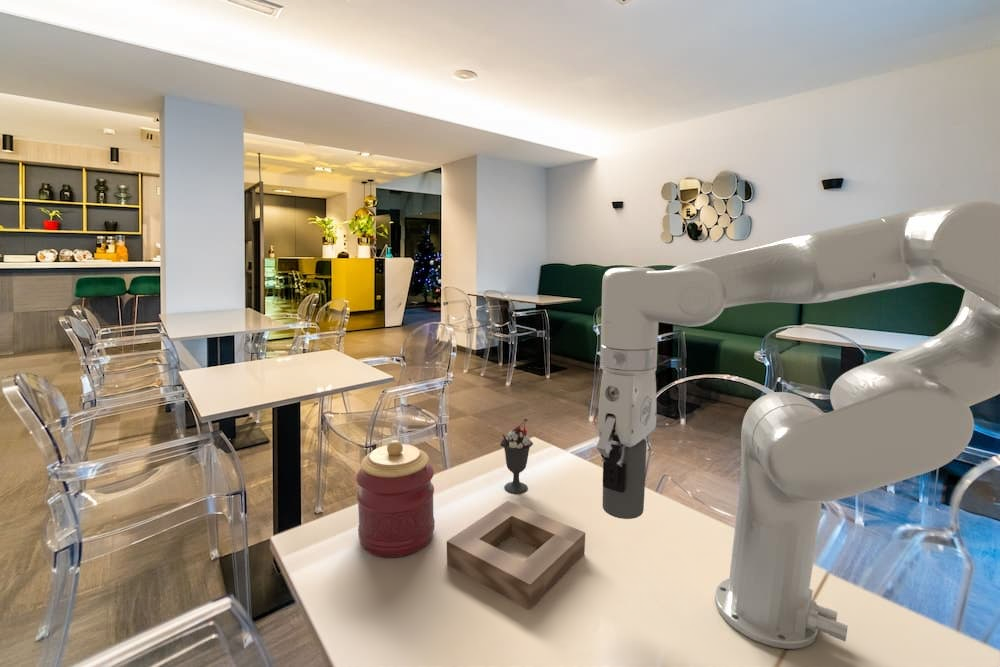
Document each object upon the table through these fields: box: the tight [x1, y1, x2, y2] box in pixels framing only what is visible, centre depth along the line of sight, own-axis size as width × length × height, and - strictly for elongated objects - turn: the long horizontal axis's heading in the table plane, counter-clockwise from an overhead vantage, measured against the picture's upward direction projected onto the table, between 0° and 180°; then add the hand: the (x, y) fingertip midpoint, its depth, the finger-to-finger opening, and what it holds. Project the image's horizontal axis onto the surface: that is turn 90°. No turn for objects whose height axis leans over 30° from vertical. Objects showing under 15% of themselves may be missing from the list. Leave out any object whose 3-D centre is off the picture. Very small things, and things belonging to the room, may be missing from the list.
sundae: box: [500, 418, 534, 495], centre depth 102 cm, size 7×7×15 cm
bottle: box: [602, 436, 647, 520], centre depth 70 cm, size 6×6×15 cm
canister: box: [355, 439, 436, 558], centre depth 84 cm, size 13×13×18 cm
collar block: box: [446, 500, 586, 611], centre depth 79 cm, size 16×16×4 cm
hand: (624, 479), depth 70 cm, fingers closed on bottle, 5 cm apart
